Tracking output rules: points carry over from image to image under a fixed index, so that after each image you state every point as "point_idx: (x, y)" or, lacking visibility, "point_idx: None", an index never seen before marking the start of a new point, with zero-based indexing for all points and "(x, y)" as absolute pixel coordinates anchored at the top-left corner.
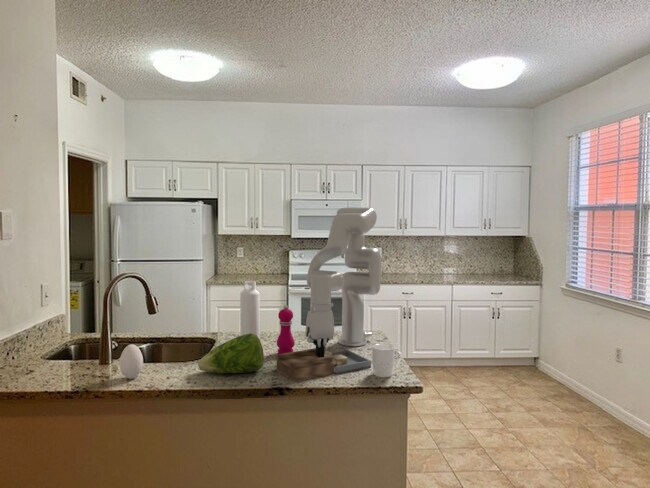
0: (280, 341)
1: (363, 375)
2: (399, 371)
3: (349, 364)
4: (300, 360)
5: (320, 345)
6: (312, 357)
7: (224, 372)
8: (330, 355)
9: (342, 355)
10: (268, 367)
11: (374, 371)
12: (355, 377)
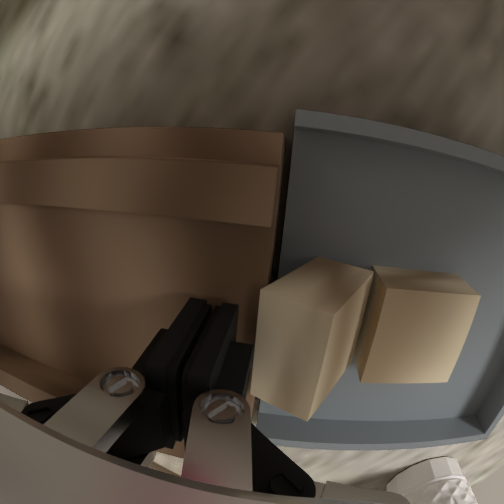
0: None
1: (357, 468)
2: (479, 472)
3: (359, 447)
4: (47, 278)
5: (150, 456)
6: (155, 279)
7: None
8: (288, 408)
9: (465, 329)
10: (2, 92)
11: (392, 491)
12: (309, 469)
